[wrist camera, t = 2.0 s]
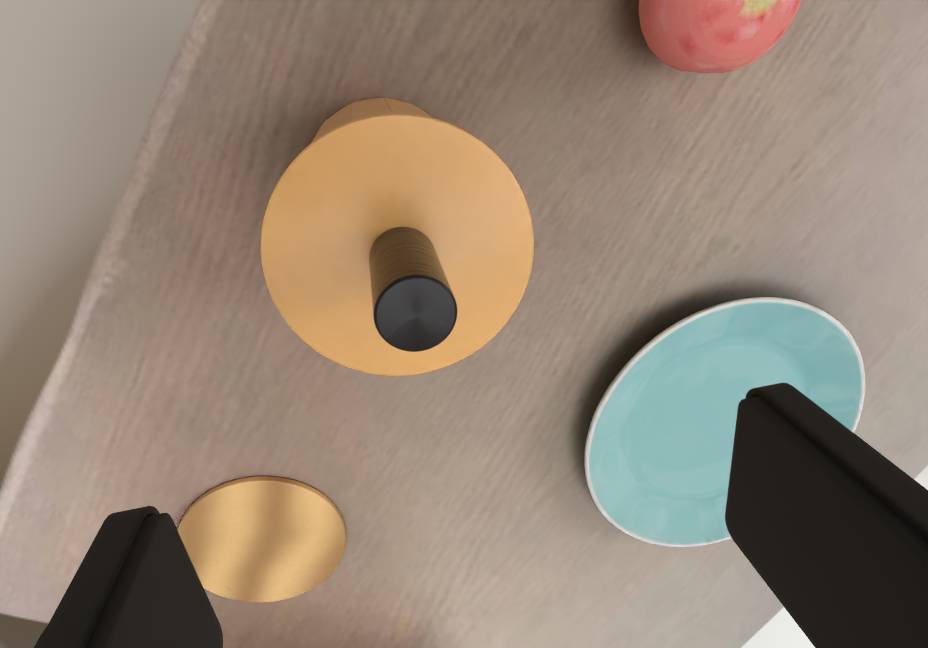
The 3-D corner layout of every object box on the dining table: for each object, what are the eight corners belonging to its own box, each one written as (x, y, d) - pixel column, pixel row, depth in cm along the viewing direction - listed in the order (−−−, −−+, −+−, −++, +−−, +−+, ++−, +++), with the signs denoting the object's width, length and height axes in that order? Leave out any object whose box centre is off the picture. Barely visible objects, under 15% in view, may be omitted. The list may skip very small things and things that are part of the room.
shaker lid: (252, 345, 23) (220, 441, 17) (280, 79, 19) (250, 92, 13) (490, 374, 25) (529, 467, 19) (556, 145, 21) (628, 179, 16)
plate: (517, 409, 42) (528, 432, 39) (782, 221, 39) (812, 232, 36) (652, 562, 52) (667, 588, 49) (871, 421, 49) (900, 441, 46)
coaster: (173, 595, 44) (172, 601, 43) (180, 469, 39) (178, 474, 39) (334, 598, 47) (333, 604, 46) (357, 482, 42) (357, 486, 42)
